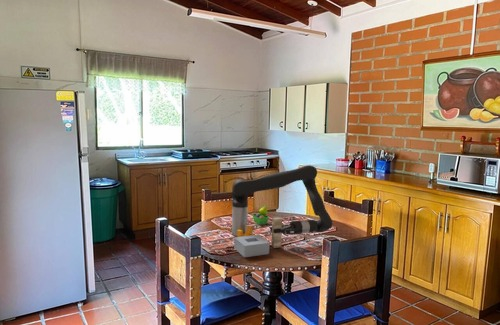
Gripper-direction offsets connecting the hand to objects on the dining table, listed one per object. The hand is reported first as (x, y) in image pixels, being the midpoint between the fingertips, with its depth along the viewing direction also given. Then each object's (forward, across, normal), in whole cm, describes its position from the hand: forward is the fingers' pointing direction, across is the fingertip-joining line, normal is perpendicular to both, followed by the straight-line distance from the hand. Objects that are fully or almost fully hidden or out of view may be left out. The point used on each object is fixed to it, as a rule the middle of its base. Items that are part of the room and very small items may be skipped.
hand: (272, 230), depth 193 cm
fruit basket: (-16, -47, +10) cm, 51 cm away
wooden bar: (-3, 0, +10) cm, 10 cm away
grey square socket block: (+12, 0, +10) cm, 16 cm away
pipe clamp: (+7, -19, +10) cm, 23 cm away
